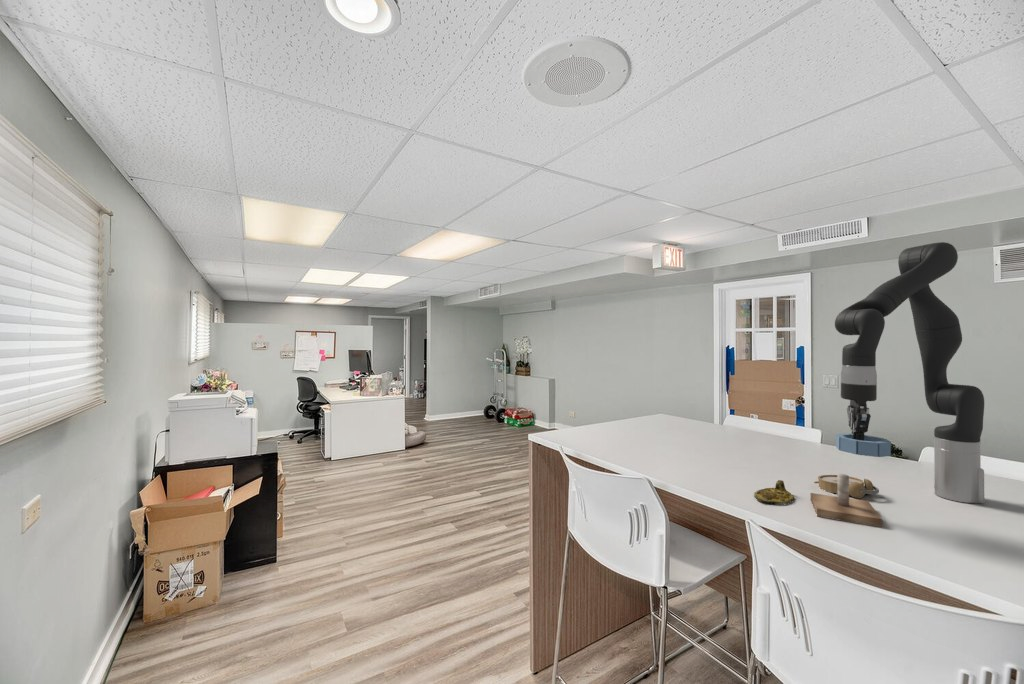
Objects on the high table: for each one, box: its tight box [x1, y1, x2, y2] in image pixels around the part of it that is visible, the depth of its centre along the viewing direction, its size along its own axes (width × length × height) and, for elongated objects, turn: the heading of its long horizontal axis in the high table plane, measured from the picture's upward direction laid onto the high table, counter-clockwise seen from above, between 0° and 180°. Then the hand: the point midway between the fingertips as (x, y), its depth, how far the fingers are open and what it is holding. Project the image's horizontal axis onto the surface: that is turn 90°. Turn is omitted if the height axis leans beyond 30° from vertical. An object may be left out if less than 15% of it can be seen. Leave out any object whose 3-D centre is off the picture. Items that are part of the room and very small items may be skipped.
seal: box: [753, 479, 795, 506], centre depth 121 cm, size 9×5×15 cm
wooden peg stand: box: [810, 473, 883, 528], centre depth 111 cm, size 13×13×10 cm
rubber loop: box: [835, 432, 892, 458], centre depth 108 cm, size 10×10×4 cm
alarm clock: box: [813, 474, 880, 499], centre depth 126 cm, size 11×5×15 cm
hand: (857, 445), depth 112 cm, fingers closed on rubber loop, 1 cm apart
